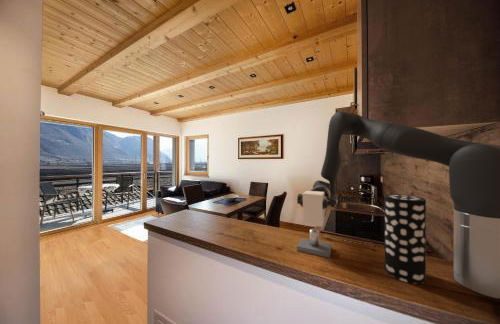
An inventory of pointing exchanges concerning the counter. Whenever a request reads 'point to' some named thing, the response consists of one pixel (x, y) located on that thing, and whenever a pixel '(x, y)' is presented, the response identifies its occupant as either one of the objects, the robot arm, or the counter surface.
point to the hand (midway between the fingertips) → (312, 204)
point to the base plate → (314, 250)
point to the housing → (313, 208)
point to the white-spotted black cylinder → (405, 238)
